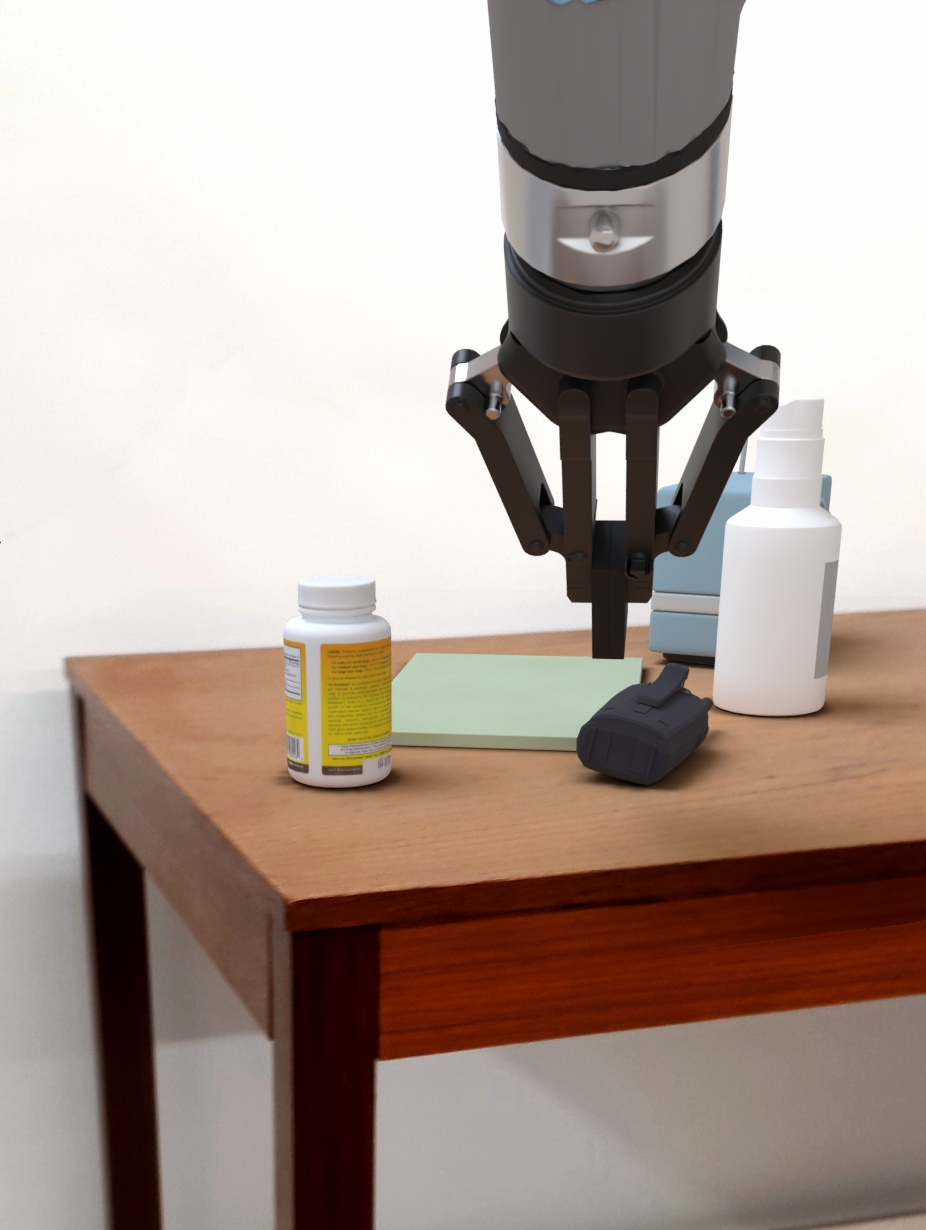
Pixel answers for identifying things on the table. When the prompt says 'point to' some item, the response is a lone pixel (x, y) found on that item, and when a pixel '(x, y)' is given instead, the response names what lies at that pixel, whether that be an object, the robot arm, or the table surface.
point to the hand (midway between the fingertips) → (610, 634)
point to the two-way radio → (645, 729)
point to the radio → (699, 578)
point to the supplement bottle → (338, 684)
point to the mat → (503, 699)
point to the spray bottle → (779, 575)
